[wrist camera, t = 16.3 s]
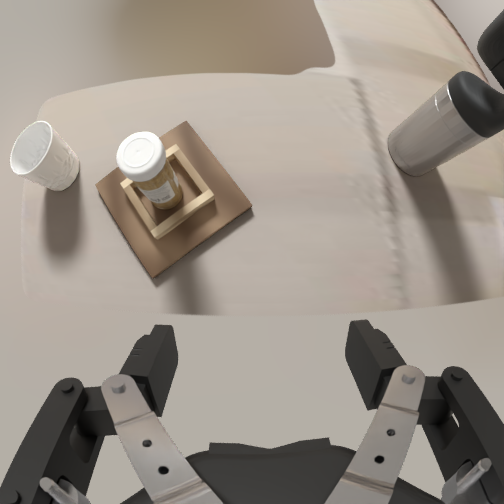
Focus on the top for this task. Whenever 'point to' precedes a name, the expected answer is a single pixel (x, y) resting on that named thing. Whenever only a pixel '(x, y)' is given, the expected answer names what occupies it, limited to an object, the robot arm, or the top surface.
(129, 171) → the sprinkles bottle
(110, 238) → the top surface
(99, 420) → the robot arm
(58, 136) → the white cup
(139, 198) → the holder board
